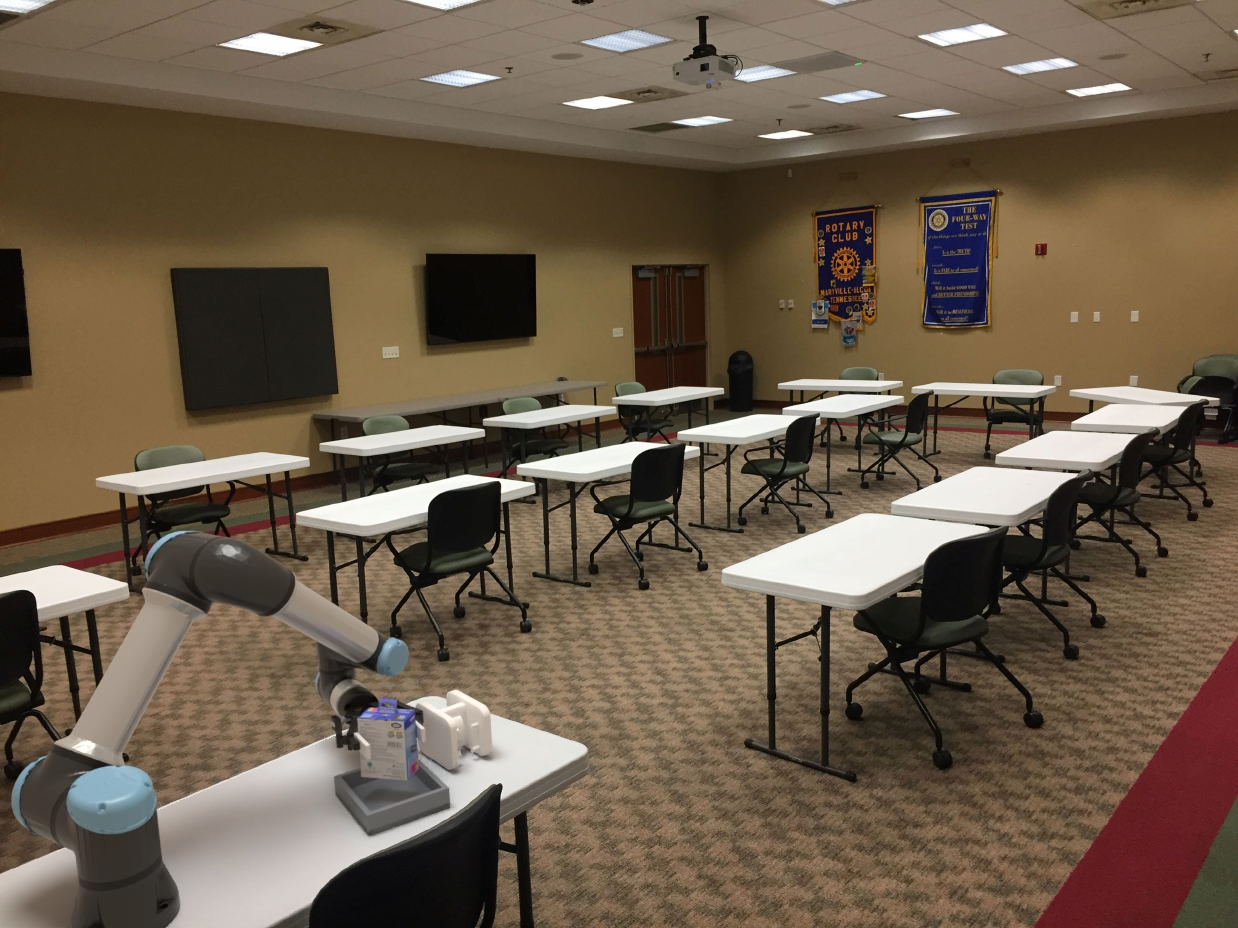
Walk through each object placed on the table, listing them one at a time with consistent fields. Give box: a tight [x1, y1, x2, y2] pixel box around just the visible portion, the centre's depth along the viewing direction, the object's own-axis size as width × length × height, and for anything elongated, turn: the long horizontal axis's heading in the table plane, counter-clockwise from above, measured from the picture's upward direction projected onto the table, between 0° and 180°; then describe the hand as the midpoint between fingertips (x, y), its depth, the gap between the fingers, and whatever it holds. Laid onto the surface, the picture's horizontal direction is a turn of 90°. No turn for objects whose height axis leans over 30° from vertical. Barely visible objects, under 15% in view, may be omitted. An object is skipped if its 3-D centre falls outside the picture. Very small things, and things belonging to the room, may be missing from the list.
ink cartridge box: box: [357, 697, 419, 781], centre depth 180 cm, size 10×6×14 cm, turn 78°
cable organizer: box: [415, 689, 493, 771], centre depth 199 cm, size 15×11×12 cm
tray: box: [333, 758, 451, 837], centre depth 182 cm, size 16×18×4 cm
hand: (396, 743), depth 176 cm, fingers closed on ink cartridge box, 10 cm apart
